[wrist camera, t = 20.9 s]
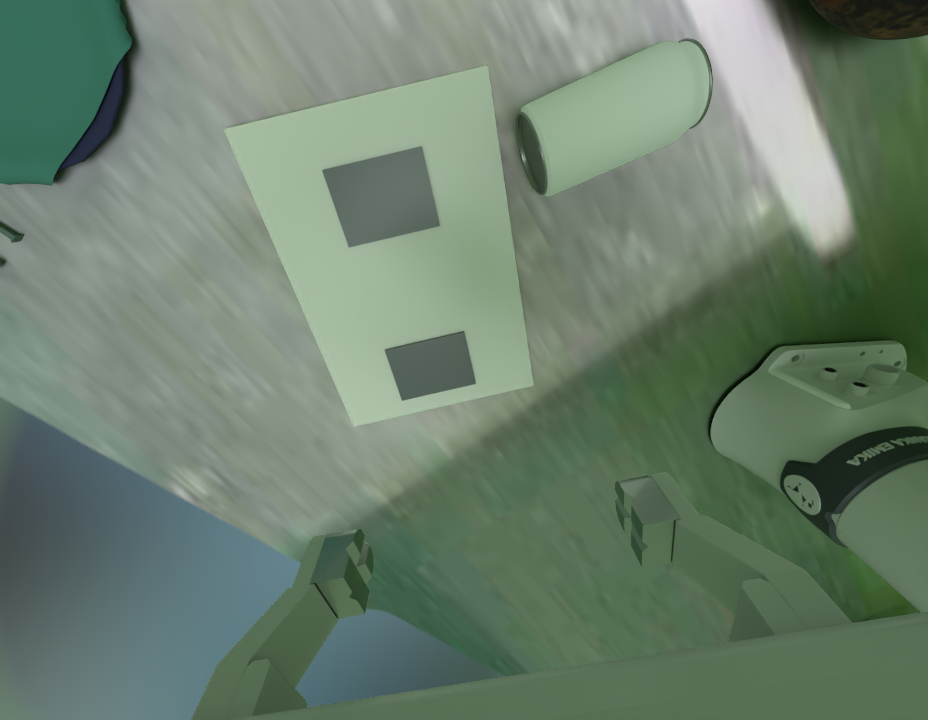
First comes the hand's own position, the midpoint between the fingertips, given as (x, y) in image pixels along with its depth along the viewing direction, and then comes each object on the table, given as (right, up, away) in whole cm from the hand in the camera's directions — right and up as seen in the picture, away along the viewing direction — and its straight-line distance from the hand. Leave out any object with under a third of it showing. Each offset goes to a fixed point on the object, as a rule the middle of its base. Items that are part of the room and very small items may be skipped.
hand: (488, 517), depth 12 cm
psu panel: (-6, +13, +23) cm, 26 cm away
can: (+4, +20, +16) cm, 26 cm away
